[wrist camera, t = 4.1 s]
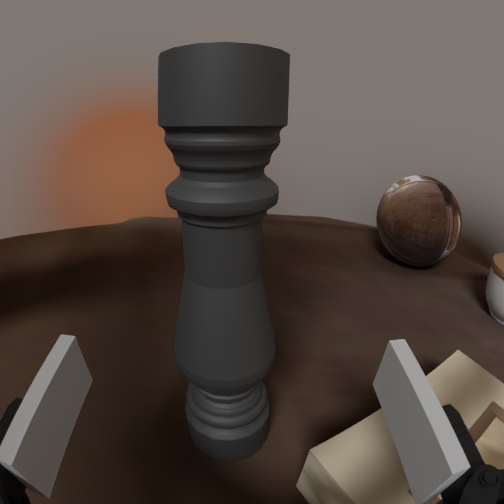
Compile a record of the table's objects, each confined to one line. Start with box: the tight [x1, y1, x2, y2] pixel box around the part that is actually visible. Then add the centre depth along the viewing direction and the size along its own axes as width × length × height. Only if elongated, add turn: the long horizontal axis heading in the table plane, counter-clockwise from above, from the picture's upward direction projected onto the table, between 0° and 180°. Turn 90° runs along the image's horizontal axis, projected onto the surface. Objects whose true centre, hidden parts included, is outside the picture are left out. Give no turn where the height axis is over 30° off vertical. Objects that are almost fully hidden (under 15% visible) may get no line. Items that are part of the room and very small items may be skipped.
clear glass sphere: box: [377, 175, 462, 266], centre depth 47 cm, size 15×15×15 cm
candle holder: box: [158, 42, 290, 461], centre depth 17 cm, size 6×6×25 cm
